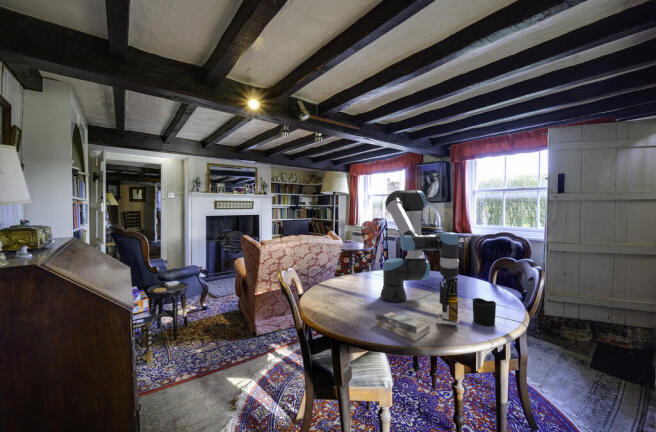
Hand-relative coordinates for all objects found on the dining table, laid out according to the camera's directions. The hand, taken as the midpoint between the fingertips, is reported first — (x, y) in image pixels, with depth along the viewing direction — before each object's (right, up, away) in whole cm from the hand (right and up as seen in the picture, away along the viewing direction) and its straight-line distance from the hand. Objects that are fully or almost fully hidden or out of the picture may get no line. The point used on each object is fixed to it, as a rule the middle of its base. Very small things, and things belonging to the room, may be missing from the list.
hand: (448, 316), depth 123 cm
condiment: (0, -1, 0) cm, 1 cm away
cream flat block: (-22, -4, -3) cm, 23 cm away
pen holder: (+17, -4, +2) cm, 18 cm away
